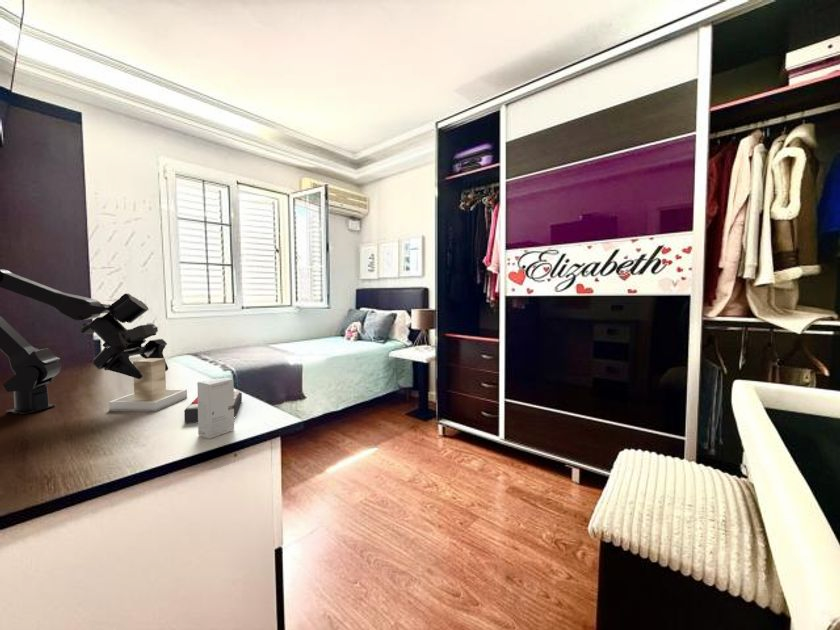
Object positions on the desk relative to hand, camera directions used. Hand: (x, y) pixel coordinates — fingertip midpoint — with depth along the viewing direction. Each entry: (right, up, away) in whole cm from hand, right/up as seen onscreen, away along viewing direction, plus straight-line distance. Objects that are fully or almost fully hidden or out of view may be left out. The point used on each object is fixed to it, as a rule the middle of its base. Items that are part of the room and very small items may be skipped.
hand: (154, 373), depth 95 cm
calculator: (+20, -10, -4) cm, 23 cm away
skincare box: (+29, -10, -18) cm, 35 cm away
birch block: (-1, -8, +1) cm, 8 cm away
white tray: (-1, -9, +1) cm, 9 cm away
